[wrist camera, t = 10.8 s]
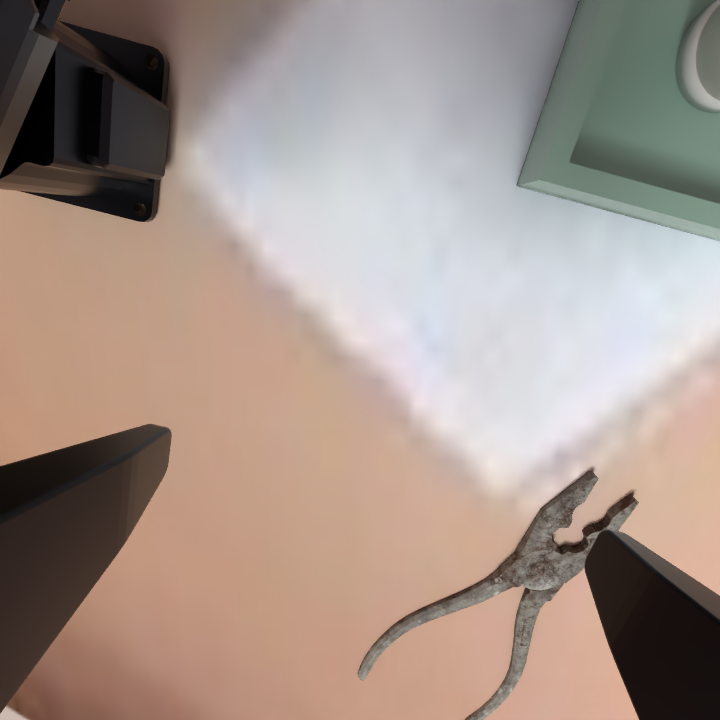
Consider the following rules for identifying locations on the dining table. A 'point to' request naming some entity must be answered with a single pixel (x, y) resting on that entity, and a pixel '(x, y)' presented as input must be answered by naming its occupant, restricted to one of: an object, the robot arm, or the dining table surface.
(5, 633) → the robot arm
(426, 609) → the pliers
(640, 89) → the parts tray
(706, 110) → the white banded cylinder
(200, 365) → the dining table surface
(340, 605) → the dining table surface
